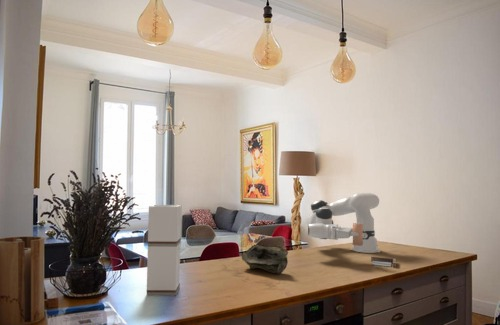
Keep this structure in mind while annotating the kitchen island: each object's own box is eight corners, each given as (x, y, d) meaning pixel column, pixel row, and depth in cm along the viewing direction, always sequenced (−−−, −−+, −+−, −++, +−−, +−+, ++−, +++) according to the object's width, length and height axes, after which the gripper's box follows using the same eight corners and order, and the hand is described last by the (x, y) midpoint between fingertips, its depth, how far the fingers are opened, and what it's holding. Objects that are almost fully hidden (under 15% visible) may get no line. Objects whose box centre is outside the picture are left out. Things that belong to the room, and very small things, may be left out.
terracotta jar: (353, 243, 216) (353, 222, 217) (363, 244, 214) (363, 223, 215) (352, 245, 211) (352, 223, 212) (362, 245, 209) (362, 224, 210)
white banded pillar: (179, 287, 158) (181, 205, 160) (175, 295, 147) (177, 206, 149) (152, 287, 157) (154, 204, 159) (146, 295, 147) (148, 206, 149)
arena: (371, 260, 218) (371, 256, 218) (396, 262, 213) (396, 258, 213) (369, 265, 206) (369, 260, 206) (395, 267, 201) (395, 263, 201)
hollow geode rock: (287, 286, 180) (302, 260, 187) (274, 270, 174) (290, 245, 181) (249, 273, 201) (264, 251, 208) (236, 259, 195) (252, 236, 202)
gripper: (337, 235, 227) (361, 236, 222) (331, 239, 208) (357, 241, 203) (337, 224, 228) (361, 226, 222) (331, 228, 209) (357, 229, 203)
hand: (359, 233), depth 213 cm, fingers closed on terracotta jar, 5 cm apart
